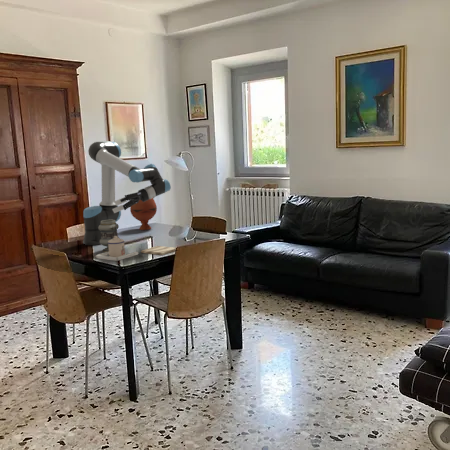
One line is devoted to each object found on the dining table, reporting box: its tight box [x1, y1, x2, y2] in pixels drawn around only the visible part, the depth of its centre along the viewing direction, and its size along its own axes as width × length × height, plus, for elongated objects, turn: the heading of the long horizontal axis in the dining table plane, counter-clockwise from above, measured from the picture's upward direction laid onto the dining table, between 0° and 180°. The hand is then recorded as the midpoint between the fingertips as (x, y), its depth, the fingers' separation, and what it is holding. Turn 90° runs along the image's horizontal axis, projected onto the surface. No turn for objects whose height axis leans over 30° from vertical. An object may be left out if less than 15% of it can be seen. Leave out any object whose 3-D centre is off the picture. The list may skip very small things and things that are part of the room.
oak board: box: [140, 245, 176, 256], centre depth 280 cm, size 16×14×1 cm
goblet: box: [129, 198, 158, 231], centre depth 358 cm, size 19×19×25 cm
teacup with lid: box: [108, 236, 126, 257], centre depth 272 cm, size 12×9×12 cm
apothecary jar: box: [98, 220, 120, 253], centre depth 288 cm, size 12×12×18 cm
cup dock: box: [95, 251, 139, 262], centre depth 274 cm, size 23×16×2 cm
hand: (114, 207), depth 284 cm, fingers open, 13 cm apart
